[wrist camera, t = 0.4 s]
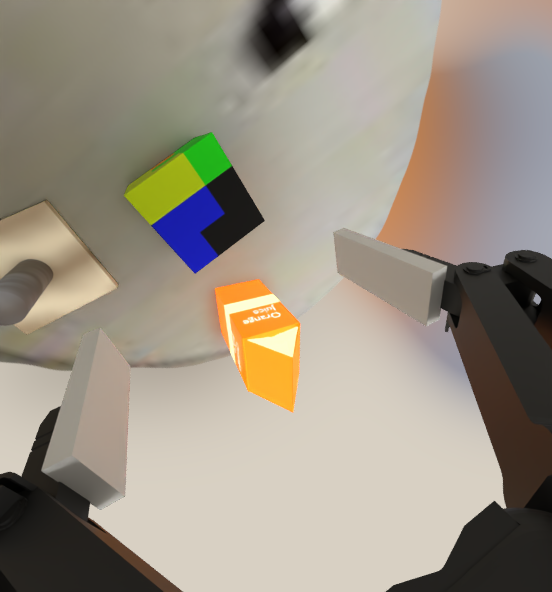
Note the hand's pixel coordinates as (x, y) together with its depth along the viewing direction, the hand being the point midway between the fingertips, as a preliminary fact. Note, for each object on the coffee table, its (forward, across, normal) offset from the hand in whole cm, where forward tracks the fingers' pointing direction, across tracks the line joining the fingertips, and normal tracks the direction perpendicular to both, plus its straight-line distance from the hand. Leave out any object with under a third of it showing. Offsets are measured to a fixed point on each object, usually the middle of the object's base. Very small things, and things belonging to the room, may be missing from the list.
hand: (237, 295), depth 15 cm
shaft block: (+26, -18, -1) cm, 32 cm away
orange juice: (+26, +3, -18) cm, 32 cm away
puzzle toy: (+27, +2, +1) cm, 27 cm away
